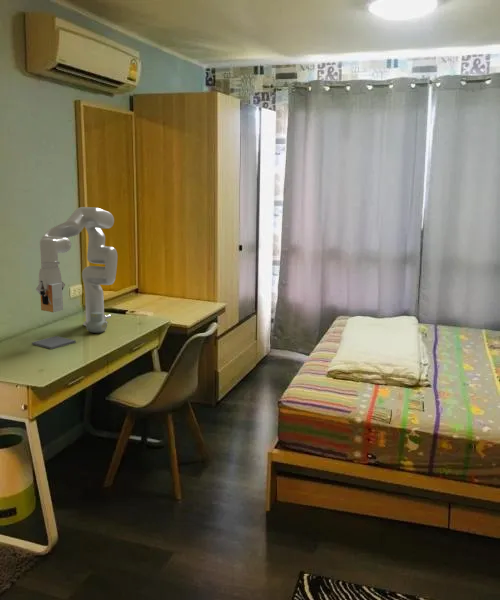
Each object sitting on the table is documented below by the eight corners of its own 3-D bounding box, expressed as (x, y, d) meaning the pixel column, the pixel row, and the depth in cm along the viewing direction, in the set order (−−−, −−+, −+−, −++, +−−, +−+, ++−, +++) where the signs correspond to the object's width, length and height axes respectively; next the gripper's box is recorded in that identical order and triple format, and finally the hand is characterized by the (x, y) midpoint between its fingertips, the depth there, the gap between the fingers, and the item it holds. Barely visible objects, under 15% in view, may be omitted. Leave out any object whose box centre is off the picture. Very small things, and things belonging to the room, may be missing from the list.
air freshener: (99, 335, 299) (99, 315, 297) (84, 333, 301) (83, 314, 299) (109, 329, 310) (108, 311, 308) (94, 328, 311) (93, 310, 309)
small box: (40, 310, 279) (39, 283, 276) (51, 308, 284) (49, 281, 282) (53, 312, 275) (51, 285, 272) (63, 310, 281) (62, 283, 278)
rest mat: (56, 337, 293) (56, 335, 292) (75, 342, 285) (75, 340, 285) (32, 344, 281) (32, 342, 281) (51, 349, 274) (51, 347, 273)
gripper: (59, 262, 285) (61, 299, 288) (28, 266, 270) (31, 305, 274) (70, 263, 281) (71, 300, 284) (39, 268, 266) (41, 307, 270)
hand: (51, 302), depth 279 cm, fingers closed on small box, 6 cm apart
